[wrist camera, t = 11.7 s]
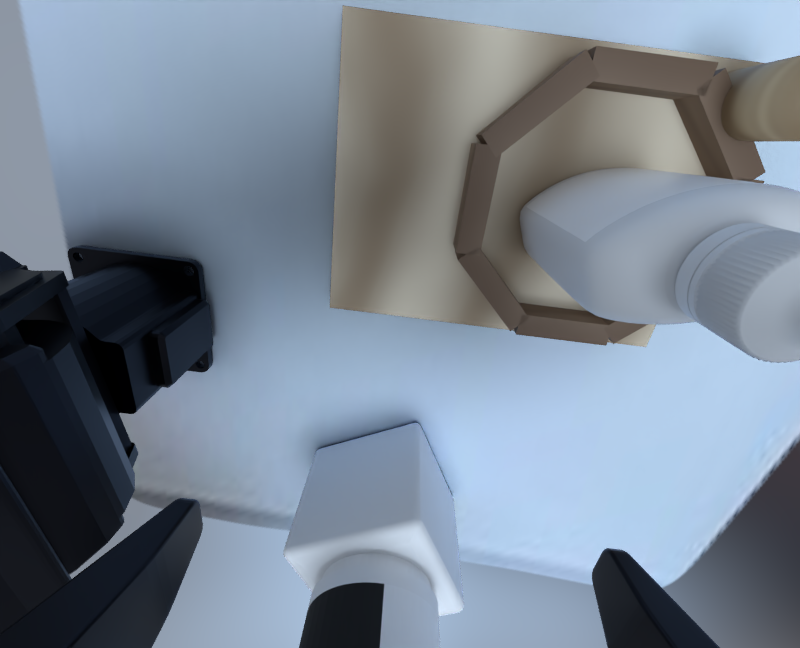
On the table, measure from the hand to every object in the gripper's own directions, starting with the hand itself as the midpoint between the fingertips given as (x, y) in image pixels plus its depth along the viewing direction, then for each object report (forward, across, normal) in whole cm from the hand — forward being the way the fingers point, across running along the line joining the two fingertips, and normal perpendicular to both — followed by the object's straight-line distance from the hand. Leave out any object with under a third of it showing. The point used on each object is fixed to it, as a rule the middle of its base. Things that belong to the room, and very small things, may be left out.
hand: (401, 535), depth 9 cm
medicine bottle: (+13, 0, +12) cm, 18 cm away
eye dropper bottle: (+12, -7, -6) cm, 15 cm away
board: (+13, -4, -6) cm, 15 cm away
